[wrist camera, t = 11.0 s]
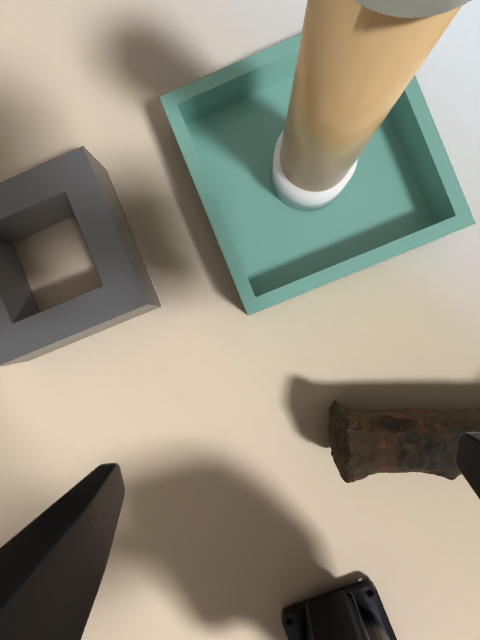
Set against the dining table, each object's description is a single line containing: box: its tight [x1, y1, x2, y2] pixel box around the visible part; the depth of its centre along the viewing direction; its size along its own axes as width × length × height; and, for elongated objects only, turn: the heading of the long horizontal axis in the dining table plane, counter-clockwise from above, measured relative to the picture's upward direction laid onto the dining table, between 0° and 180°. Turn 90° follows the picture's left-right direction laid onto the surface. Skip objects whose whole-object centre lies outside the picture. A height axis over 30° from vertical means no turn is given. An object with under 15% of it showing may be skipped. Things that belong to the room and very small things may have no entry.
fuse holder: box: [0, 146, 161, 366], centre depth 17 cm, size 10×10×2 cm
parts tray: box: [159, 33, 475, 316], centre depth 17 cm, size 14×14×2 cm
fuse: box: [271, 0, 470, 211], centre depth 10 cm, size 5×5×13 cm
